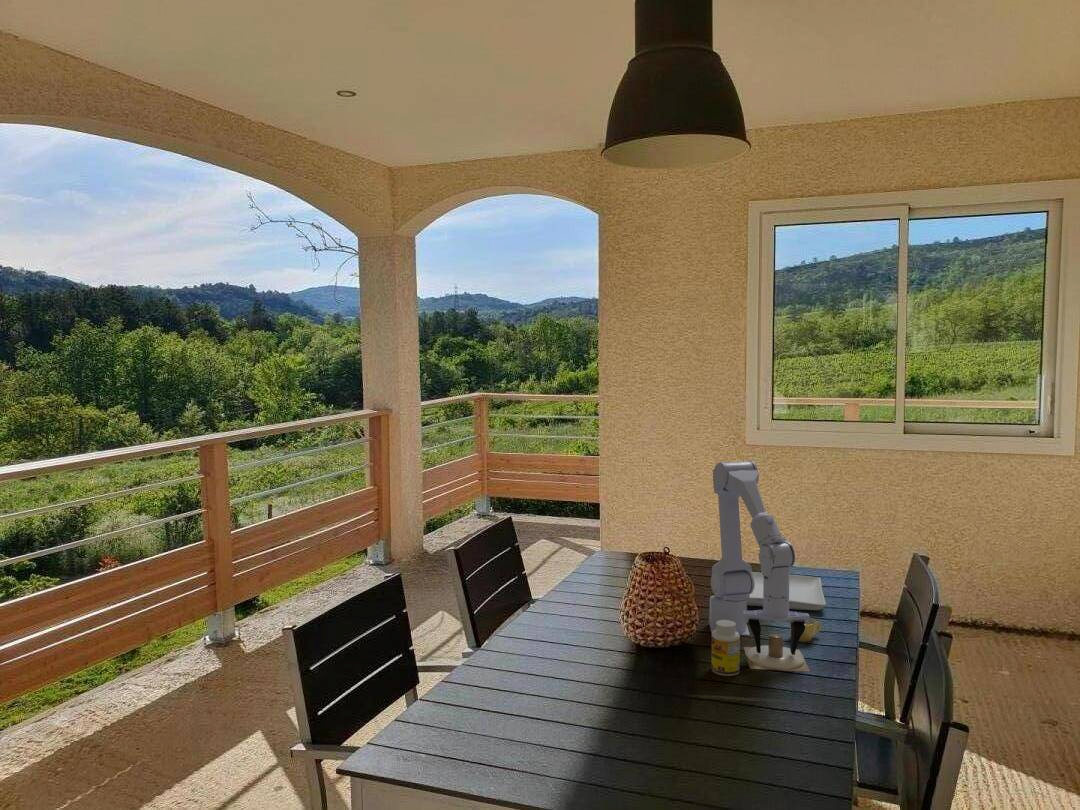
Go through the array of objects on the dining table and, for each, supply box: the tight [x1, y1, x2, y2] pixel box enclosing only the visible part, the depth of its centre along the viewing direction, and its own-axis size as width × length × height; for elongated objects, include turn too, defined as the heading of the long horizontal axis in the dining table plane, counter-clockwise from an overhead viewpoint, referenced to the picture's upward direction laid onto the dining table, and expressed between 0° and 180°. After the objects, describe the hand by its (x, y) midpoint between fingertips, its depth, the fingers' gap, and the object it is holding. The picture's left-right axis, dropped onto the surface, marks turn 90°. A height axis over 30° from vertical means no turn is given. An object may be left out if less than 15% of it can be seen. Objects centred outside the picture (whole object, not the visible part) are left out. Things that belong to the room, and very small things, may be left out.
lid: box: [748, 633, 805, 671], centre depth 177 cm, size 12×12×5 cm
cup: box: [788, 617, 822, 643], centre depth 190 cm, size 12×12×5 cm
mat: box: [743, 646, 811, 673], centre depth 178 cm, size 13×13×1 cm
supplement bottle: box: [711, 620, 741, 677], centre depth 171 cm, size 6×6×11 cm
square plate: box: [747, 571, 827, 611], centre depth 226 cm, size 27×27×4 cm
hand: (775, 652), depth 178 cm, fingers open, 7 cm apart
